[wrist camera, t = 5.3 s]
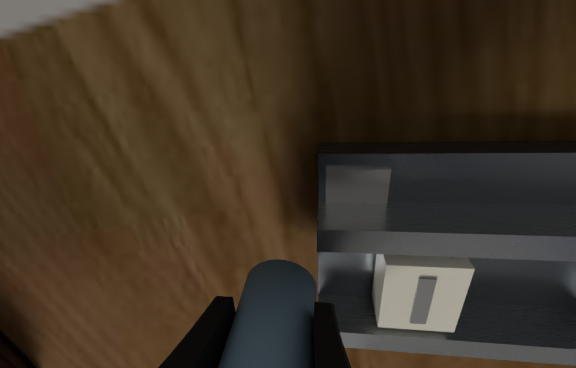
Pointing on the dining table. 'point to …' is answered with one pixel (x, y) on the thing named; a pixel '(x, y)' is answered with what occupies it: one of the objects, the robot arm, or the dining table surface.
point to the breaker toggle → (420, 291)
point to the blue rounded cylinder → (273, 319)
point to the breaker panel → (455, 241)
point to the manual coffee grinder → (11, 355)
